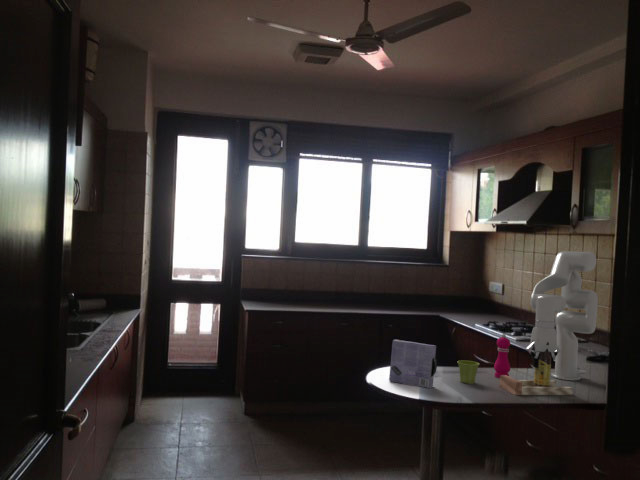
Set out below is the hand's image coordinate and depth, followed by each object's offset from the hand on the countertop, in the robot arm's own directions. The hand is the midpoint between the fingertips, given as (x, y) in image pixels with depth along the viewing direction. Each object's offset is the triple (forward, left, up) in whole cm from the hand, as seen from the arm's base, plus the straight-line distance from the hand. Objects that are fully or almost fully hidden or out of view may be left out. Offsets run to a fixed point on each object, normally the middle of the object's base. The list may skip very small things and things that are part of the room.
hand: (542, 367), depth 236 cm
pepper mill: (+5, -24, -10) cm, 27 cm away
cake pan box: (+54, -10, -10) cm, 56 cm away
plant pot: (+27, -14, -10) cm, 32 cm away
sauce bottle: (0, 0, -9) cm, 9 cm away
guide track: (+3, 0, -10) cm, 11 cm away
